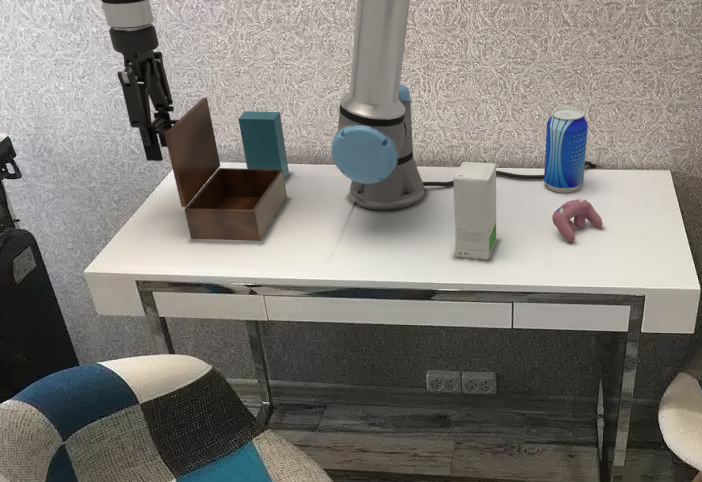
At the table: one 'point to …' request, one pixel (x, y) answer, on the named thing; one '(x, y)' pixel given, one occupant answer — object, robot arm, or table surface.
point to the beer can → (565, 150)
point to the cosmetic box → (475, 209)
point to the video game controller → (575, 217)
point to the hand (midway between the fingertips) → (162, 152)
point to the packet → (263, 141)
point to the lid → (191, 149)
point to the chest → (236, 204)
